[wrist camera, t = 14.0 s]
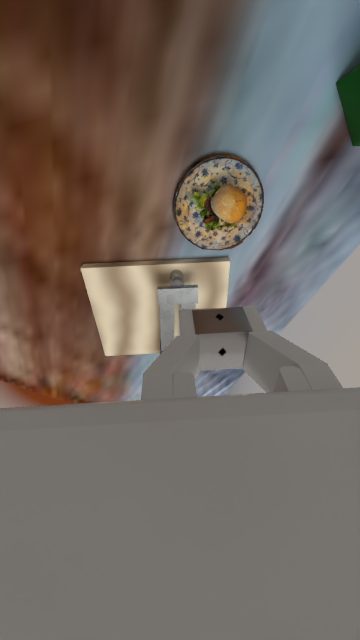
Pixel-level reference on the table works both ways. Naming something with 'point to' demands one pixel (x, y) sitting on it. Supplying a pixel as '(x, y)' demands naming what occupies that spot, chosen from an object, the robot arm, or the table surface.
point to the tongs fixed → (178, 292)
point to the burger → (218, 202)
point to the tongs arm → (166, 325)
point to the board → (147, 298)
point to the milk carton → (351, 102)
